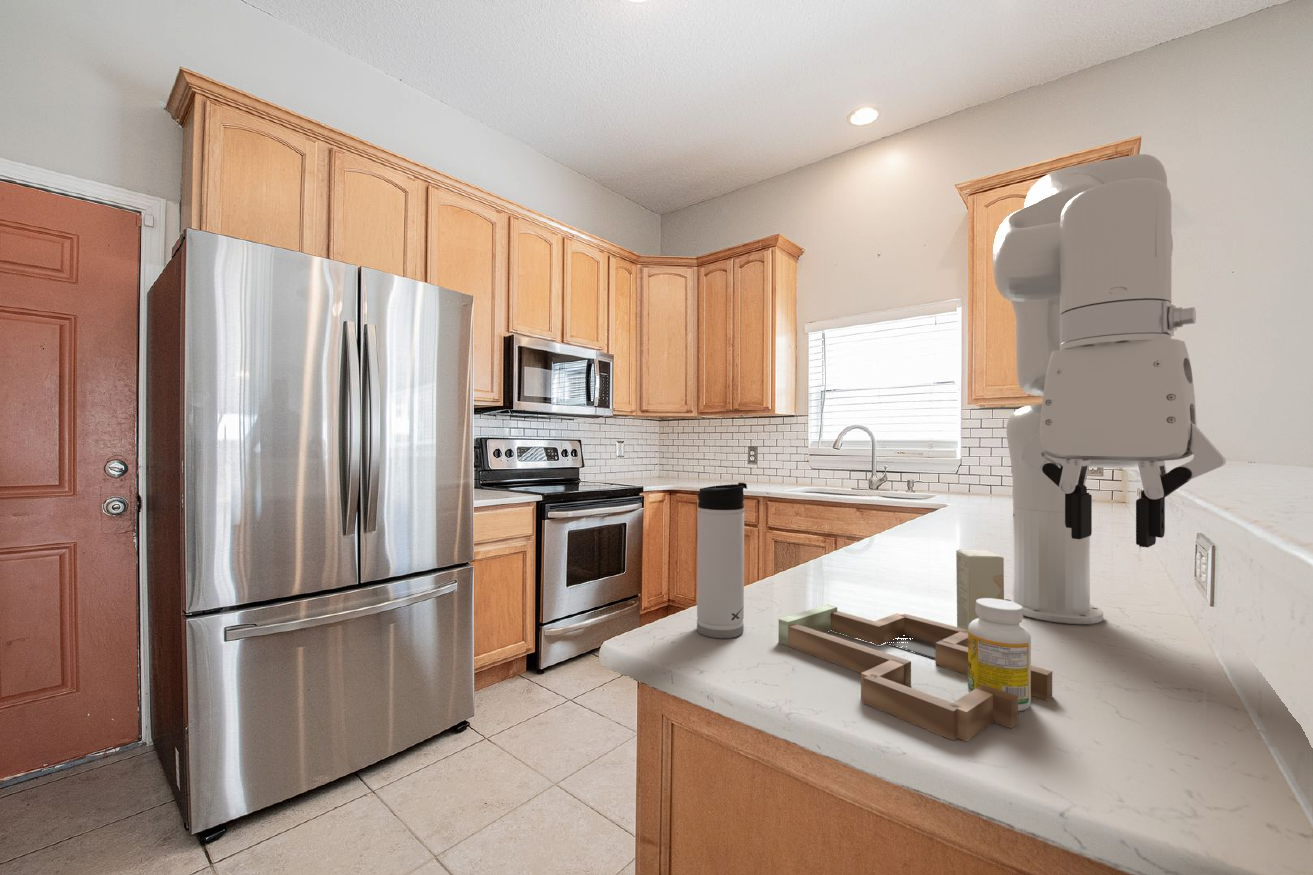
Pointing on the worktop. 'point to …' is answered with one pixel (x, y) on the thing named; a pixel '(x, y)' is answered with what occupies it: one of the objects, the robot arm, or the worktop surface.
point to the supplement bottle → (1000, 650)
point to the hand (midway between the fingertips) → (1112, 539)
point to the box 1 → (907, 668)
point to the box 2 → (977, 581)
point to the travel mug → (720, 561)
